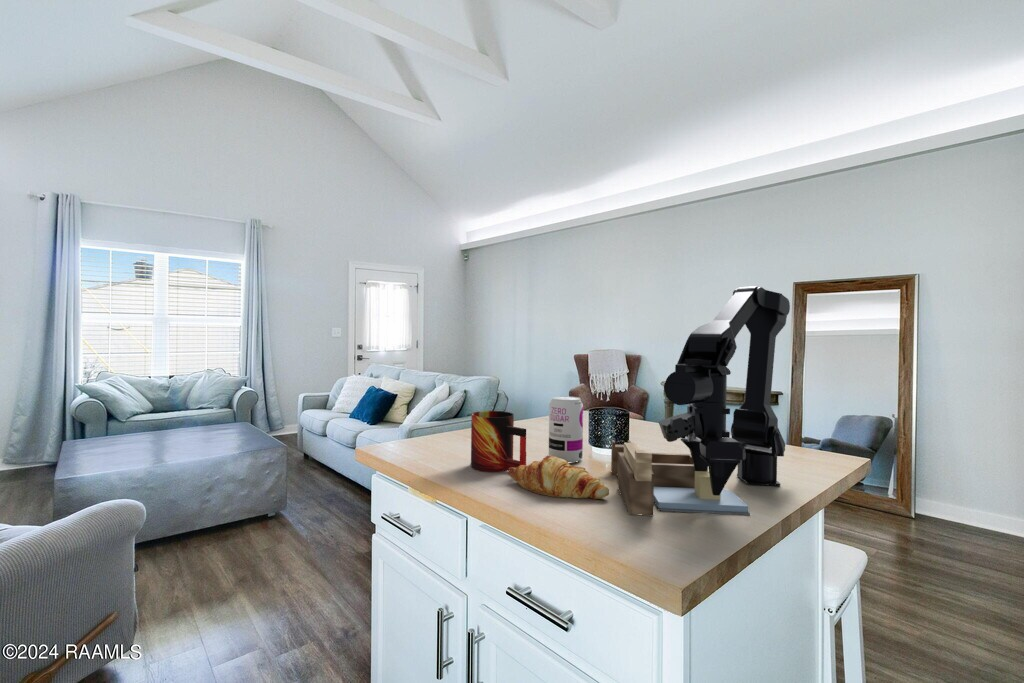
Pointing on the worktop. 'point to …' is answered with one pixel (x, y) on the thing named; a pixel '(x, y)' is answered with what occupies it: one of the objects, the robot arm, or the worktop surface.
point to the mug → (495, 441)
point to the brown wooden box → (664, 474)
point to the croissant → (558, 479)
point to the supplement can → (566, 428)
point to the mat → (703, 511)
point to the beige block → (638, 461)
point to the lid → (698, 497)
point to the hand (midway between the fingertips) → (707, 486)
